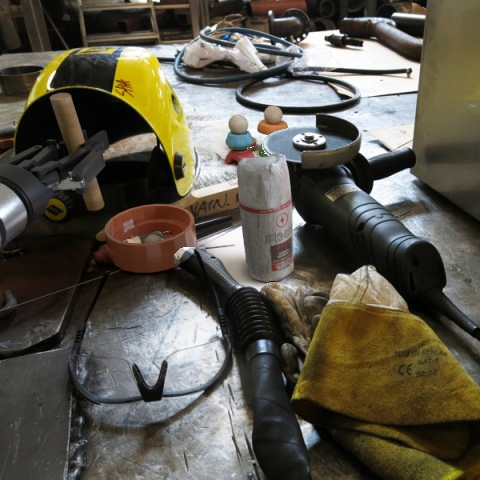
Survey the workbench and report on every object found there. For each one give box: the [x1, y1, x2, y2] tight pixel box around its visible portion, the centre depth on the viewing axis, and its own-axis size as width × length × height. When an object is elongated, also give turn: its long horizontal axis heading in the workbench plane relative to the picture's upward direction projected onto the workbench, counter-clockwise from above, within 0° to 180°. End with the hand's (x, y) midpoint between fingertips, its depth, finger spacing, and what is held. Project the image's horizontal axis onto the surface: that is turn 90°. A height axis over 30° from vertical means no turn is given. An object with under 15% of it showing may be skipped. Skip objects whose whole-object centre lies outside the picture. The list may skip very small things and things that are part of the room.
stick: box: [49, 92, 105, 212], centre depth 70 cm, size 3×3×18 cm
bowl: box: [104, 203, 198, 274], centre depth 82 cm, size 14×14×6 cm
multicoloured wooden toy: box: [224, 105, 289, 165], centre depth 121 cm, size 18×17×12 cm
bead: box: [144, 234, 161, 243], centre depth 82 cm, size 3×3×3 cm
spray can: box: [236, 152, 295, 283], centre depth 75 cm, size 8×8×20 cm
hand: (95, 138), depth 75 cm, fingers closed on stick, 3 cm apart
